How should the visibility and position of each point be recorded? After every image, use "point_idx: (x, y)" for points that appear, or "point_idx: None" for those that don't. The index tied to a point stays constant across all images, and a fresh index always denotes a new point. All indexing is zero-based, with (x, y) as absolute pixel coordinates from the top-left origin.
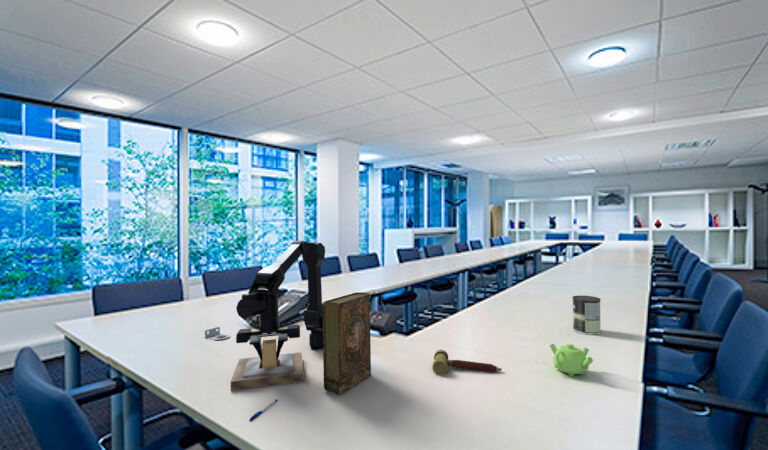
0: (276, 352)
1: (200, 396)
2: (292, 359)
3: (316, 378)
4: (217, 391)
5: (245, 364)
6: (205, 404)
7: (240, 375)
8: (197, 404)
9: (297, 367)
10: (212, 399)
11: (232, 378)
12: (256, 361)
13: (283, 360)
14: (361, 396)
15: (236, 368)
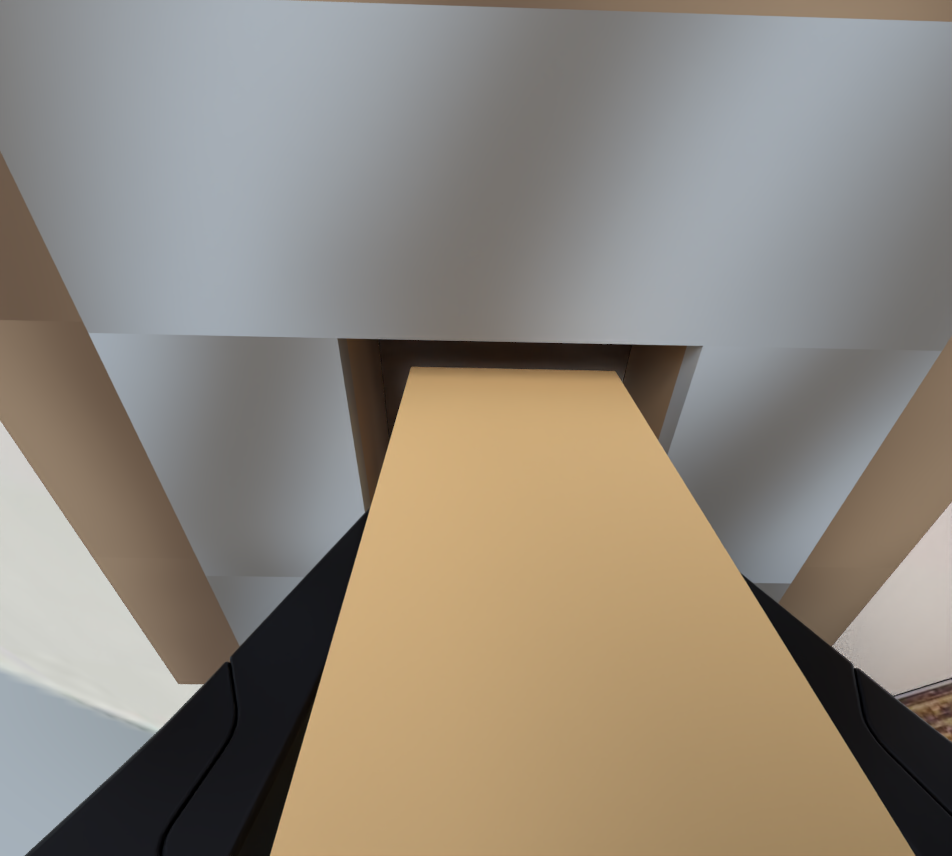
0: (695, 507)
1: (30, 629)
2: (897, 412)
3: (870, 600)
4: (113, 599)
5: (74, 308)
6: (146, 698)
7: (208, 613)
8: (94, 690)
9: (812, 596)
10: (152, 669)
11: (158, 644)
12: (255, 305)
13: (743, 414)
14: None
15: (20, 434)
